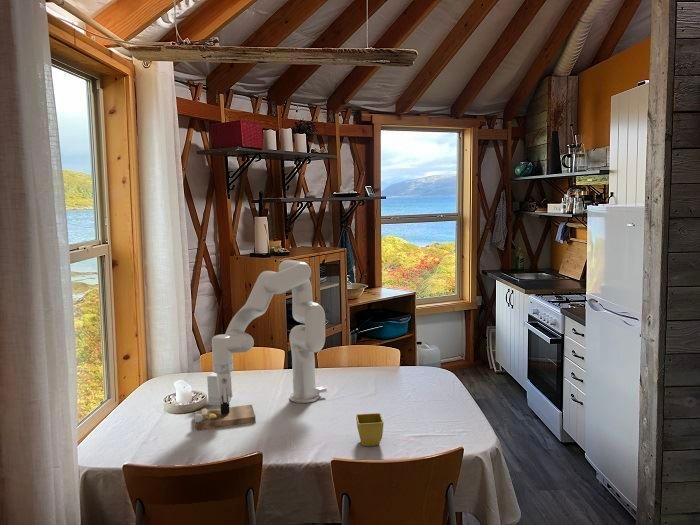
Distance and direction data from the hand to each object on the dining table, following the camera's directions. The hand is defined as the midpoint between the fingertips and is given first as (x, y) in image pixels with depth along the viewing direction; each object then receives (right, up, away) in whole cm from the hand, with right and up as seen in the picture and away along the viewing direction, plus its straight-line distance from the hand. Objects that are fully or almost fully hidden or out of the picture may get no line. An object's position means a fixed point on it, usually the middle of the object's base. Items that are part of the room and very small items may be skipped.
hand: (225, 412), depth 210 cm
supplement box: (-7, -1, +19) cm, 20 cm away
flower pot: (+55, -5, -22) cm, 60 cm away
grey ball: (-8, 0, -8) cm, 11 cm away
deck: (0, -3, 0) cm, 3 cm away
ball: (-5, -2, -1) cm, 5 cm away
